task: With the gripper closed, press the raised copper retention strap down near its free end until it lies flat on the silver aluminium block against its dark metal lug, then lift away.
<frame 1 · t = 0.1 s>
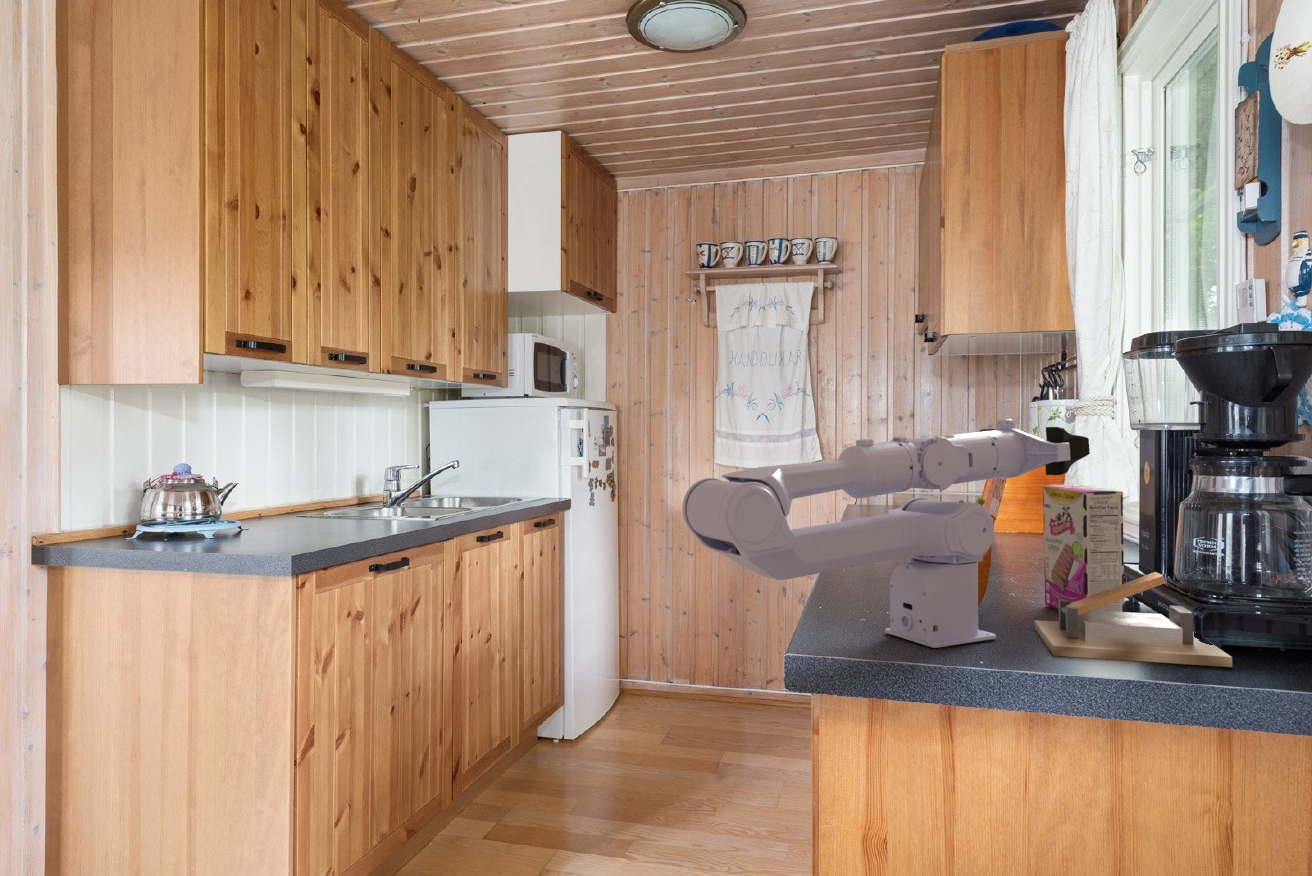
hand: (1058, 446, 99), 22 cm above the table, tool horizontal, fingers open, 7 cm apart
carrot: (973, 612, 104), on the table
copper strap: (1111, 595, 87), point 5 cm above the table, hinge at 25.0°
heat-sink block: (1124, 621, 86), on the birch board, point 3 cm above the table
birch board: (1124, 646, 86), on the table
candy bar box: (1081, 617, 101), on the table
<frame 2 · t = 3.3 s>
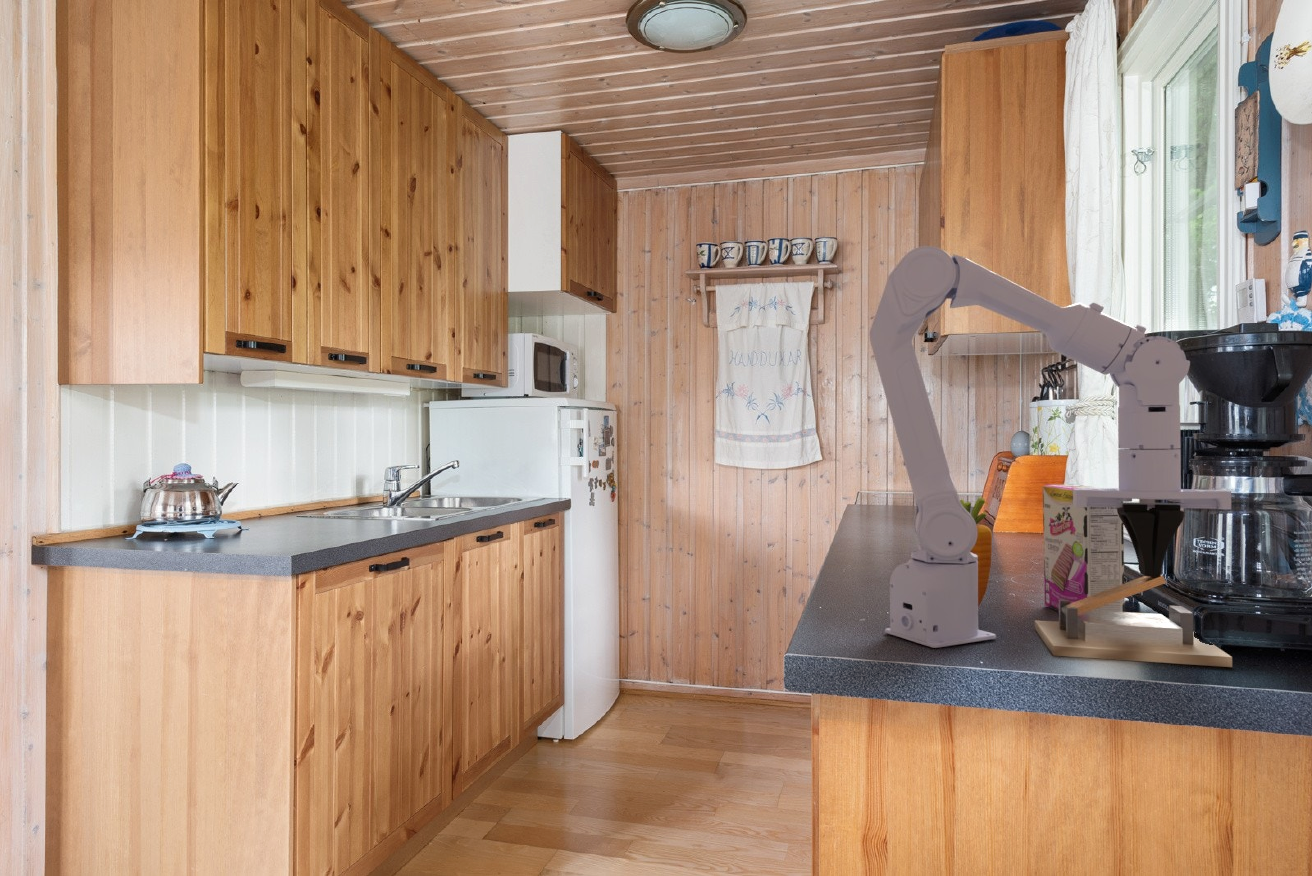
hand: (1150, 575, 86), 8 cm above the table, tool pointing down, fingers closed
copper strap: (1111, 595, 87), point 5 cm above the table, hinge at 25.0°, touching gripper
everything else where it was.
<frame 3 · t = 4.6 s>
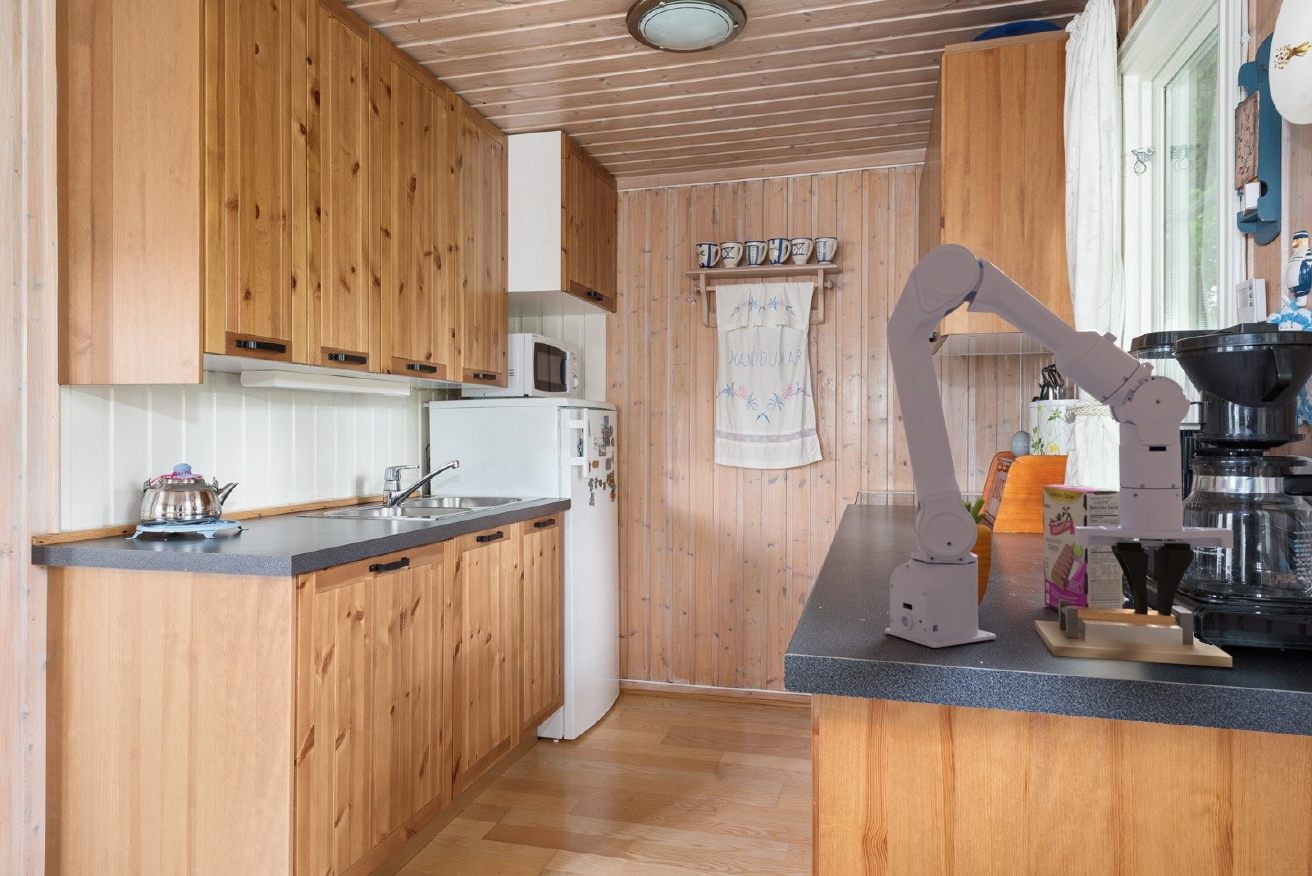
hand: (1152, 613, 86), 4 cm above the table, tool pointing down, fingers closed on copper strap, 2 cm apart
copper strap: (1116, 614, 87), point 3 cm above the table, hinge at -0.4°, touching gripper, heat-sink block
everything else where it was.
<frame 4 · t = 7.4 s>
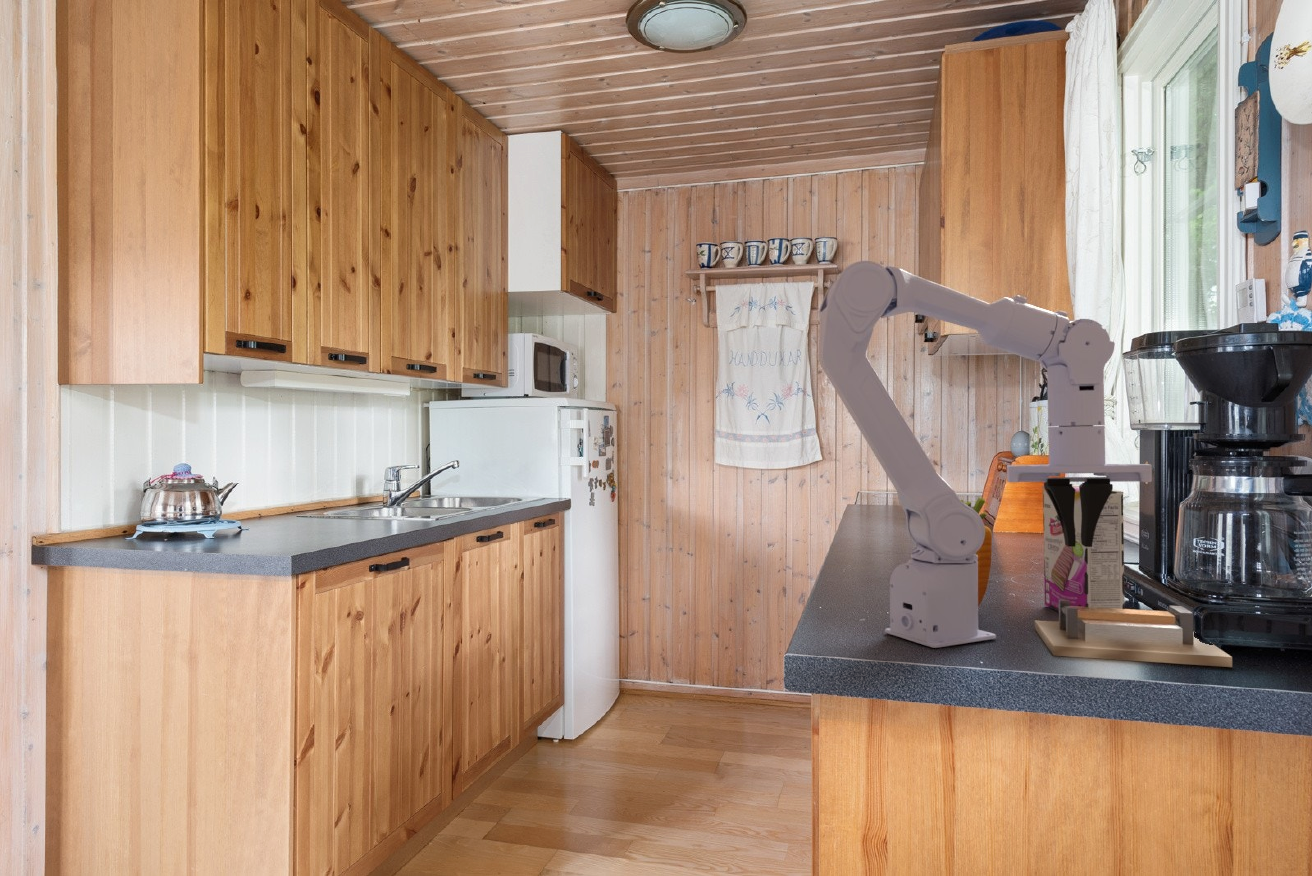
hand: (1078, 545, 90), 10 cm above the table, tool pointing down, fingers closed
copper strap: (1116, 614, 87), point 3 cm above the table, hinge at -0.4°, touching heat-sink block
everything else where it was.
at the end: copper strap at +0° (first picture: +25°); candy bar box moved 0.2 cm from its start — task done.
